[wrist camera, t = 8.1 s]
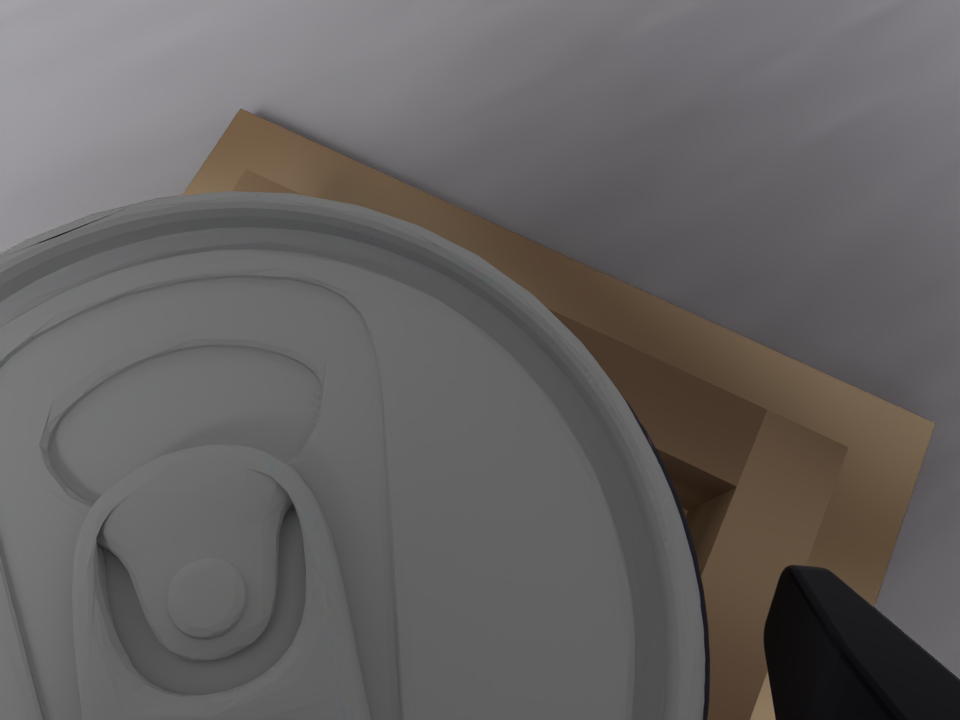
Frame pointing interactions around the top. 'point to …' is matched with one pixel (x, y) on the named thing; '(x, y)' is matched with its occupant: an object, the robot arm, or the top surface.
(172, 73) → the top surface
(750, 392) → the socket board
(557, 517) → the beverage can
